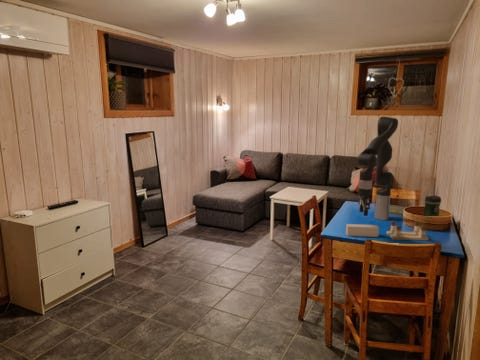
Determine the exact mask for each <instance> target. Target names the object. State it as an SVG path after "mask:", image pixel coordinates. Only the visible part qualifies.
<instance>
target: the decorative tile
mask: <svg viewBox="0 0 480 360" xmlns="http://www.w3.org/2000/svg"><path fill="white" fill-rule="evenodd" d="M404 208H406V207H405V206H401V205H398V204H397V205H394V204H390V208H389V215H394V216H400V217H404V216H403V209H404Z"/></svg>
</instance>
